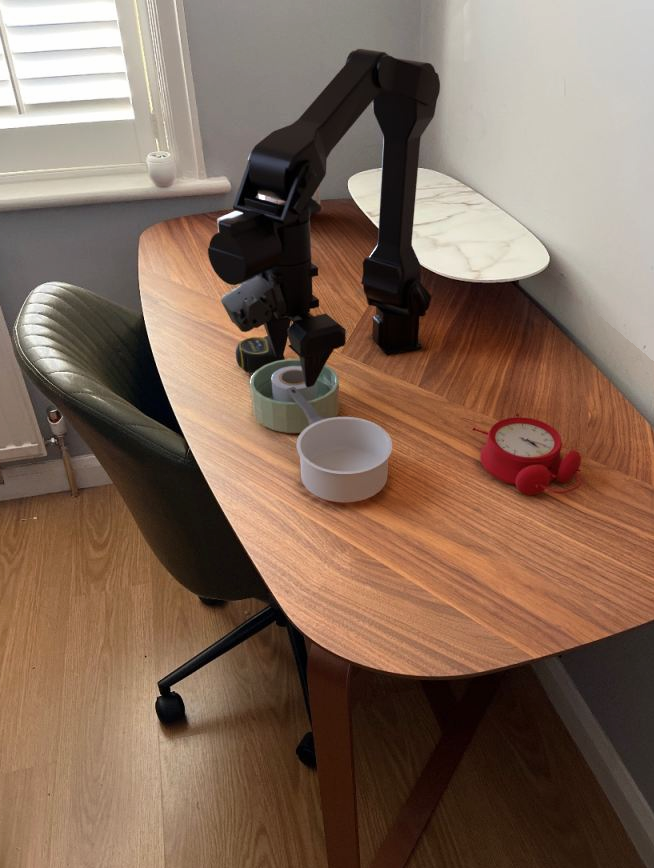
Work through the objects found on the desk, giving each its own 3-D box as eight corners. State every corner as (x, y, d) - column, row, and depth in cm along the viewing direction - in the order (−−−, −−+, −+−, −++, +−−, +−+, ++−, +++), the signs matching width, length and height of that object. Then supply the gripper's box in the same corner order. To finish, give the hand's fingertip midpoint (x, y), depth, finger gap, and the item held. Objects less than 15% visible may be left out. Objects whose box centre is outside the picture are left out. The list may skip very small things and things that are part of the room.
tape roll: (310, 393, 108) (309, 362, 104) (323, 416, 103) (323, 384, 100) (268, 401, 106) (266, 369, 102) (280, 424, 101) (278, 392, 98)
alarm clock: (524, 405, 100) (607, 439, 88) (524, 447, 103) (604, 486, 91) (461, 425, 96) (539, 464, 84) (463, 469, 99) (538, 512, 87)
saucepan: (329, 410, 104) (328, 376, 100) (408, 491, 92) (411, 454, 88) (253, 434, 100) (250, 399, 96) (326, 522, 87) (325, 485, 83)
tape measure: (286, 375, 112) (285, 352, 110) (241, 381, 111) (239, 358, 108) (276, 353, 117) (275, 331, 115) (233, 359, 116) (231, 337, 113)
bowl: (323, 383, 111) (322, 353, 107) (350, 426, 102) (350, 394, 99) (244, 397, 107) (241, 366, 104) (265, 443, 99) (262, 411, 96)
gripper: (196, 243, 93) (211, 355, 103) (258, 300, 81) (269, 420, 91) (277, 228, 98) (284, 337, 108) (347, 279, 86) (348, 396, 96)
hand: (294, 370), depth 101 cm, fingers open, 9 cm apart
